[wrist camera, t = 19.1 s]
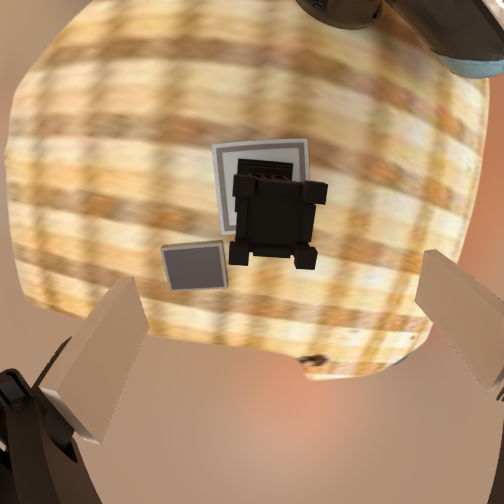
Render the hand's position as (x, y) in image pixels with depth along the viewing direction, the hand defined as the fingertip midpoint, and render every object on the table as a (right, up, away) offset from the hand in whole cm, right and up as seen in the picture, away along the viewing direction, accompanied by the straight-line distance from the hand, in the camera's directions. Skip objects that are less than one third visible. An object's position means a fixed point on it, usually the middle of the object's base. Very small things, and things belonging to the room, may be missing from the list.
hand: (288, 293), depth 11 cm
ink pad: (-11, -1, +33) cm, 35 cm away
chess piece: (0, +11, +29) cm, 31 cm away
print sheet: (0, +11, +29) cm, 31 cm away
